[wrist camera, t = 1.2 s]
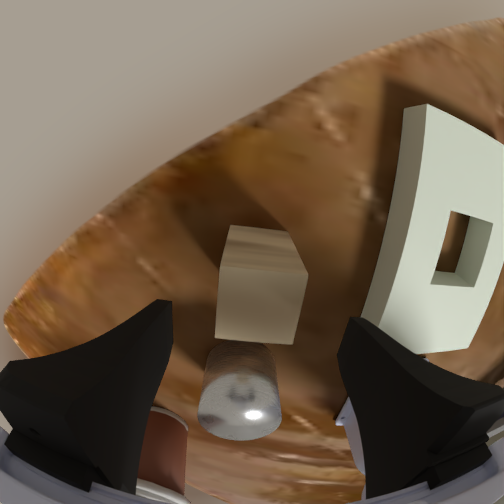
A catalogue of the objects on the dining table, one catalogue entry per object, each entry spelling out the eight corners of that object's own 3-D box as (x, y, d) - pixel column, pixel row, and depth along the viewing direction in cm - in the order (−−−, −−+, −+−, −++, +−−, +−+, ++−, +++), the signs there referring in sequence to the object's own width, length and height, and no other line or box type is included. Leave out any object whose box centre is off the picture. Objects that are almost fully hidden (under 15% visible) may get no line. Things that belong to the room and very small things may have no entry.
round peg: (269, 389, 24) (273, 441, 18) (206, 384, 23) (198, 436, 18) (280, 341, 22) (289, 397, 16) (207, 335, 21) (197, 390, 16)
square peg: (279, 283, 20) (292, 344, 13) (225, 277, 20) (214, 337, 13) (287, 231, 19) (308, 275, 12) (230, 224, 18) (220, 265, 12)
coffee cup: (213, 440, 27) (205, 529, 15) (149, 444, 28) (130, 520, 16) (175, 393, 24) (150, 501, 12) (107, 399, 25) (71, 484, 13)
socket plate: (452, 331, 22) (467, 348, 19) (354, 334, 22) (366, 356, 19) (501, 155, 16) (523, 158, 13) (403, 108, 16) (426, 103, 13)
